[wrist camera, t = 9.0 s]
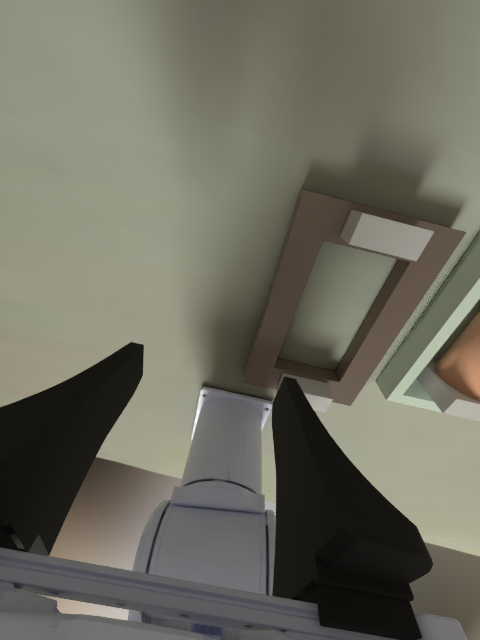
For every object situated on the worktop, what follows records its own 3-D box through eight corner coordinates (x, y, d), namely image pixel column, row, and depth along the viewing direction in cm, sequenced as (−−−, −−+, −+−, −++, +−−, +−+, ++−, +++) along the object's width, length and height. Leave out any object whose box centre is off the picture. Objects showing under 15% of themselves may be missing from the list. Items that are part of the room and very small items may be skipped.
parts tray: (458, 400, 25) (477, 420, 23) (375, 381, 24) (386, 400, 22) (598, 258, 17) (644, 269, 15) (482, 228, 17) (513, 234, 15)
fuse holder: (345, 394, 26) (357, 422, 23) (244, 371, 25) (241, 398, 22) (450, 228, 17) (491, 238, 14) (300, 189, 17) (310, 190, 14)
